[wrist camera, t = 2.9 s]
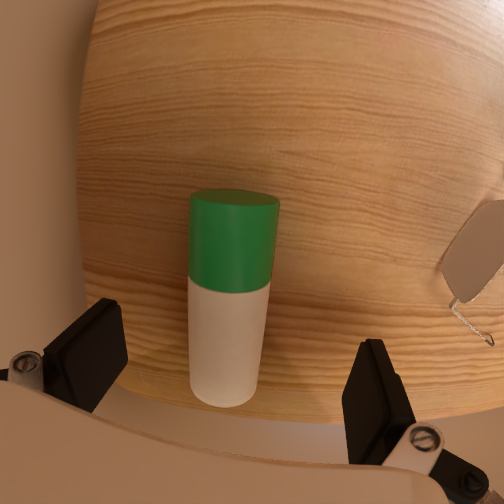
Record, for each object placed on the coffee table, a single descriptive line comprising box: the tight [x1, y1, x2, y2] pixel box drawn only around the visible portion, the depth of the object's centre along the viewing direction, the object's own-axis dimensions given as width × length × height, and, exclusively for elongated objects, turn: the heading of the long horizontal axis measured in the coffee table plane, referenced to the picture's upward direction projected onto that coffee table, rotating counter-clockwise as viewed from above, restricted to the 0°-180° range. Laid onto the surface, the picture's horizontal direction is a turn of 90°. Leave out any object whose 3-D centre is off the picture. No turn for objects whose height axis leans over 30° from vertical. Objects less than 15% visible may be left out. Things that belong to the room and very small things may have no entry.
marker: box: [188, 190, 280, 407], centre depth 14 cm, size 10×4×4 cm, turn 175°
